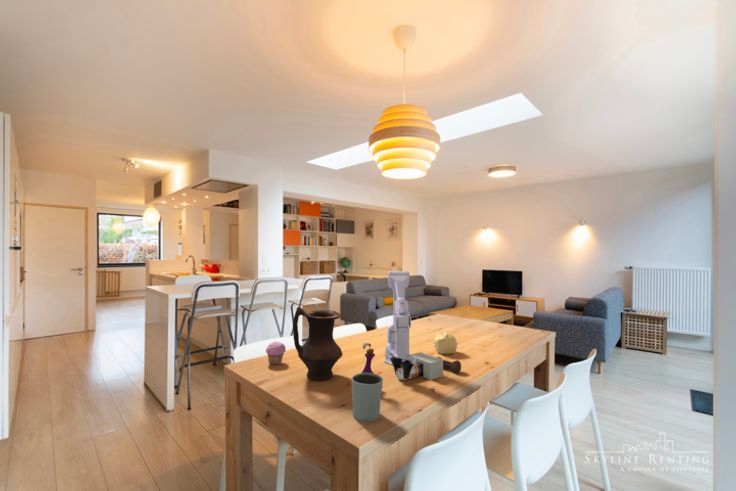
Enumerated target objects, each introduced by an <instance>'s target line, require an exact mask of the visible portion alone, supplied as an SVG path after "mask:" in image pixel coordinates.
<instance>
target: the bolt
mask: <svg viewBox="0 0 736 491" xmlns="http://www.w3.org/2000/svg"><path fill="white" fill-rule="evenodd" d="M436 357H437V358H440V359H442V357H441V356H436ZM443 369H448V370H451V371H452V372H453V374H460V372H461V370H462V363H461V361H460V360H457V359H456V360H454V361H449V360H445V359H443Z"/></svg>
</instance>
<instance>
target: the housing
mask: <svg viewBox="0 0 736 491" xmlns="http://www.w3.org/2000/svg"><path fill="white" fill-rule="evenodd" d="M410 355H412V356H413V357H415V358H416V363H422V364H423V373H422V374H423V376H422V377H423V378H424V379H427V380H429V381H432V380H435V379H438V378H442V377H444V367H443V360H444V359H443V358H441V359H440V358H437V357H438V356H434V355H431V354H427V353H424V352H422V351H420V352H416V353H413V354H410Z"/></svg>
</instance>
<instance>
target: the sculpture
mask: <svg viewBox="0 0 736 491" xmlns="http://www.w3.org/2000/svg"><path fill="white" fill-rule="evenodd" d="M433 344H434V345H433V347H434V349H435V351H436V352H437V353H439V354H441V355H450V354H451V355H452V354H454V353H455V352H456V351H457V348H458V342H457V338H456V337H455V336H454V335H452V334H451V333H448V332H446V331H443V332H439V333H437V334H435V335H434V339H433Z"/></svg>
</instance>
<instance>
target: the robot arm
mask: <svg viewBox="0 0 736 491" xmlns="http://www.w3.org/2000/svg"><path fill="white" fill-rule="evenodd" d="M410 277H411V276H410V272H409V271H408V270H401V271H400V270H389V271H388V273H387V283H388V284H387V285H388V288H389V289H391V290H392V293H393V300H392V302H393V308H392V310H393V312H392V313H393V316H392V318H393V319H392V320H393V321H392V323H391V324H390V325H388V328H387V332H386V340H387V344H386V345H385V359H384V360H383V362H385V363H387V364H389V365H392V367H393V370H394V374H395V376H396V369H397V368H400V367H403V374H404V379H403V380H407V379H409V378H410V377H409V375H410V372H411V369H412V367H413V365H414V364H415V363H416V358H415V357H413V356H412V355H411V354H410V329H411V326H412V318H411V314H410V311H409V302H408V300H407V299H406V298H405V297H406V296H405V295H406V291H405V290H406V288H407V289H408V287H409V284H410V282H411V281H410V280H411V278H410Z"/></svg>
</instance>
